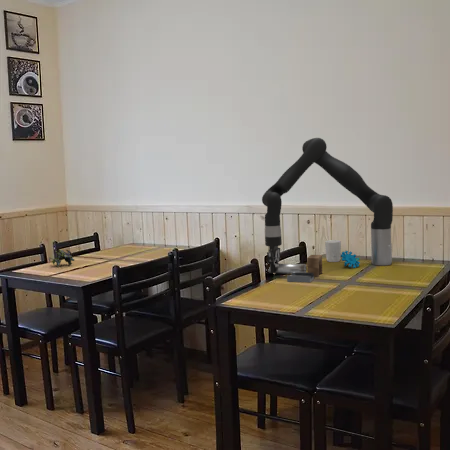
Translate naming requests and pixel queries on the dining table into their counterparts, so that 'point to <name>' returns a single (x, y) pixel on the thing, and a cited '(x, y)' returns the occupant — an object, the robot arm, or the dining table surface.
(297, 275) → the v block
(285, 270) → the axle
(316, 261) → the brown block
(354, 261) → the gear
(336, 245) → the white cup
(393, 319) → the dining table surface
